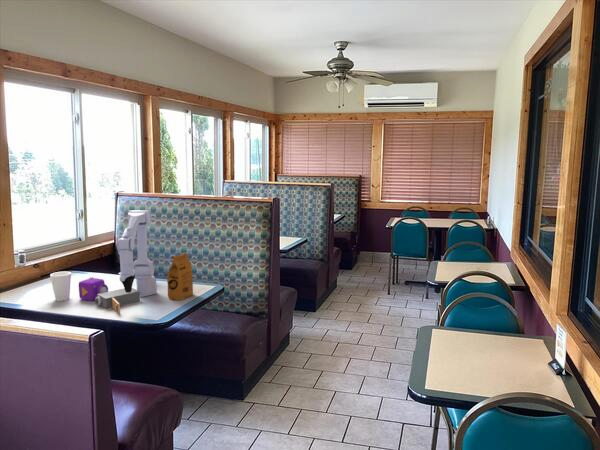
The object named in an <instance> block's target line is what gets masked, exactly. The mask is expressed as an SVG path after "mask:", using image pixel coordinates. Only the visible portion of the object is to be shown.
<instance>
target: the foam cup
mask: <svg viewBox="0 0 600 450" xmlns="http://www.w3.org/2000/svg"><path fill="white" fill-rule="evenodd" d="M49 277H50V282H51V286H52V289H53V290H52V291H53V295H54V298H55V301H57V302H63V300H64V301H68V300H69V299H70V296H71V294H70V293H71V282H72V281H71V279H72V272H71V271H57V272H53V273H50V275H49Z"/></svg>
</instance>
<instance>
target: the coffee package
mask: <svg viewBox="0 0 600 450" xmlns="http://www.w3.org/2000/svg"><path fill="white" fill-rule="evenodd" d="M171 259H172V263H171V266H170V267H169V270H168V272H167V277H166V280H167V297H168V299H169V300H171V299H172V300H176V301H182V300H184V299H186V298H190V297H191V296H193V295H194V286H193V285H194V282H193V281H194V279H193V278H194V277H193V269H192V263H191V261H190V259H189V257H188V255H187V253H186V252H183V253H182V254H181V255H172V256H171Z"/></svg>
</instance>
